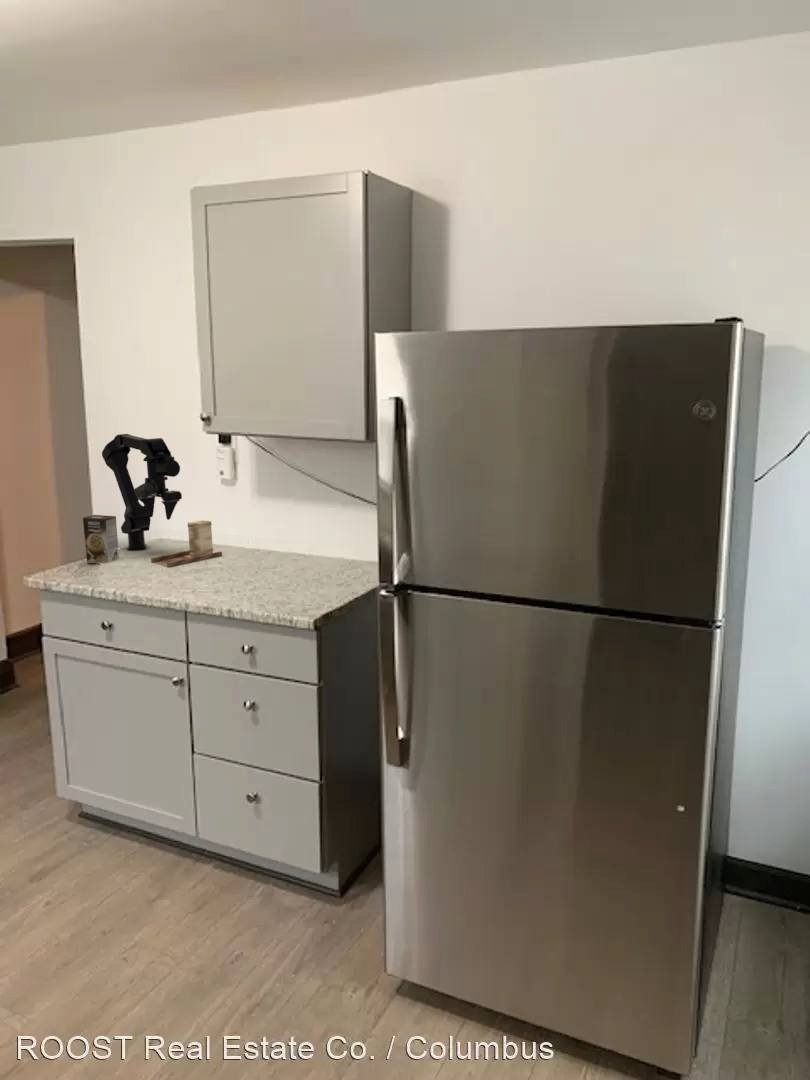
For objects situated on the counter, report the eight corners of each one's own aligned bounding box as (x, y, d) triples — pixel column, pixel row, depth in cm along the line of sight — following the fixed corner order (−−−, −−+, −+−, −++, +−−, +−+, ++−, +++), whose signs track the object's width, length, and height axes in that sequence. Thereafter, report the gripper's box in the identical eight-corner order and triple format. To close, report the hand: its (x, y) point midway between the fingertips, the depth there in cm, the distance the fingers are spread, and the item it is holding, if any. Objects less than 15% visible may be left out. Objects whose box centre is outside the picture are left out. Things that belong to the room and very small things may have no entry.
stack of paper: (189, 556, 290) (187, 522, 288) (202, 553, 295) (199, 519, 292) (201, 558, 287) (199, 524, 284) (213, 555, 292) (211, 521, 289)
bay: (169, 570, 276) (168, 563, 276) (151, 565, 284) (150, 558, 283) (222, 558, 291) (222, 551, 291) (204, 554, 299) (203, 547, 298)
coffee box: (86, 563, 287) (81, 517, 283) (98, 559, 293) (93, 514, 289) (108, 565, 284) (104, 518, 281) (120, 561, 290) (116, 515, 287)
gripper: (119, 475, 292) (123, 519, 296) (155, 479, 282) (159, 524, 285) (145, 471, 301) (149, 514, 305) (181, 475, 291) (184, 519, 294)
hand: (159, 518), depth 297 cm, fingers open, 9 cm apart
